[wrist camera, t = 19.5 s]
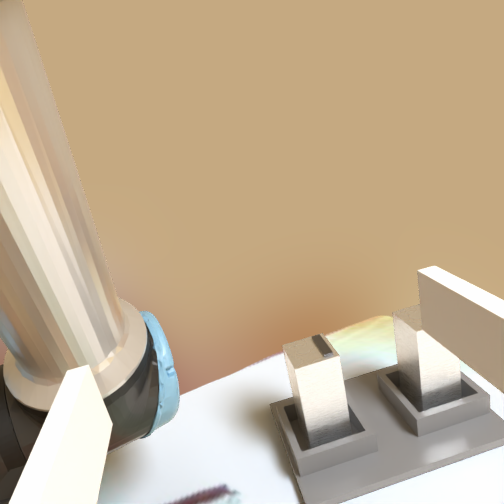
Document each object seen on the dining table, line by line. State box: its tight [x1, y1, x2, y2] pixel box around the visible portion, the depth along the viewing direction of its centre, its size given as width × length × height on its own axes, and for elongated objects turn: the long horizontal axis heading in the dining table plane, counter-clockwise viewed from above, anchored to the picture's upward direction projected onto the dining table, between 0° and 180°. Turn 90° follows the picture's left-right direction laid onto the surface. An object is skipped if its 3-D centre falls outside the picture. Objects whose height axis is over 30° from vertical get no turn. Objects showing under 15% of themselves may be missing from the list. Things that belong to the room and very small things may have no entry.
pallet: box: [270, 364, 504, 504], centre depth 48 cm, size 24×16×4 cm, turn 101°
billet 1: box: [282, 333, 352, 449], centre depth 46 cm, size 5×5×12 cm
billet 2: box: [392, 304, 462, 413], centre depth 47 cm, size 5×5×12 cm
